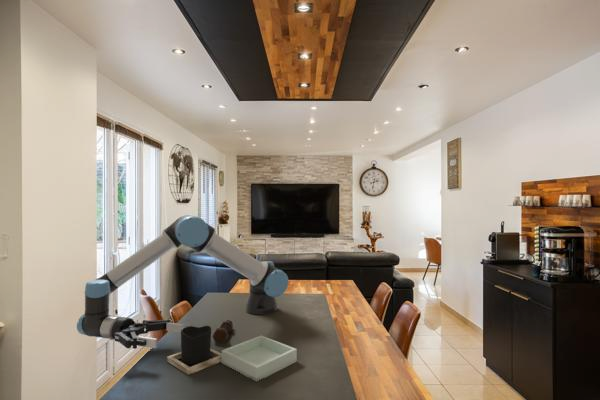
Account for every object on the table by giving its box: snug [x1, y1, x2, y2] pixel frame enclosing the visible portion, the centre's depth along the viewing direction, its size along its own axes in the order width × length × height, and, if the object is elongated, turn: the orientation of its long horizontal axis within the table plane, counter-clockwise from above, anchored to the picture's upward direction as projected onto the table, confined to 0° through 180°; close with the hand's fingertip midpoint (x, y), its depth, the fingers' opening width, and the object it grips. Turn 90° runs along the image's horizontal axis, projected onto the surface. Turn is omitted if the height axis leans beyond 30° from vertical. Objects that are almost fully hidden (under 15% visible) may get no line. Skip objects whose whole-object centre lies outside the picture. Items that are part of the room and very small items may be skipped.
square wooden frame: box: [166, 347, 222, 376], centre depth 110 cm, size 13×13×2 cm
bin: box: [220, 335, 298, 382], centre depth 109 cm, size 17×17×4 cm
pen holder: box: [180, 325, 212, 367], centre depth 110 cm, size 9×9×10 cm
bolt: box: [212, 320, 234, 344], centre depth 131 cm, size 6×5×15 cm
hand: (170, 335), depth 113 cm, fingers open, 13 cm apart
